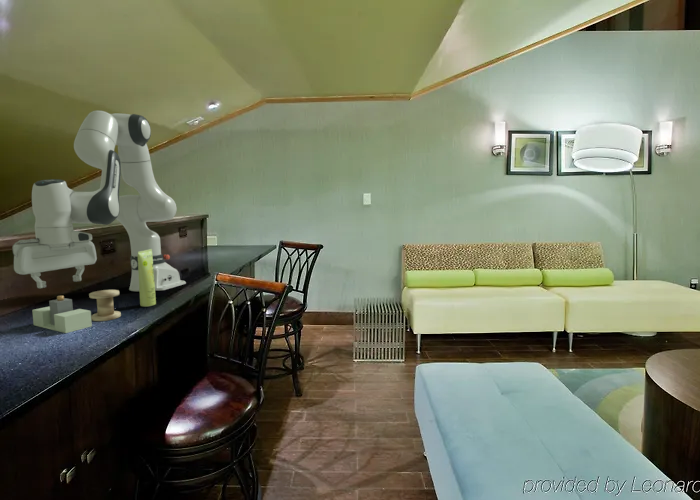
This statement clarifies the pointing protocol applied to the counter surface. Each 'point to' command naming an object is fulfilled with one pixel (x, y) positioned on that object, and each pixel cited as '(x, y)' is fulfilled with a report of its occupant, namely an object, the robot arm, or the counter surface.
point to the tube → (146, 278)
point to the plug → (59, 306)
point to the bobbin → (105, 305)
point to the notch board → (62, 319)
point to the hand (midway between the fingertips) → (60, 284)
